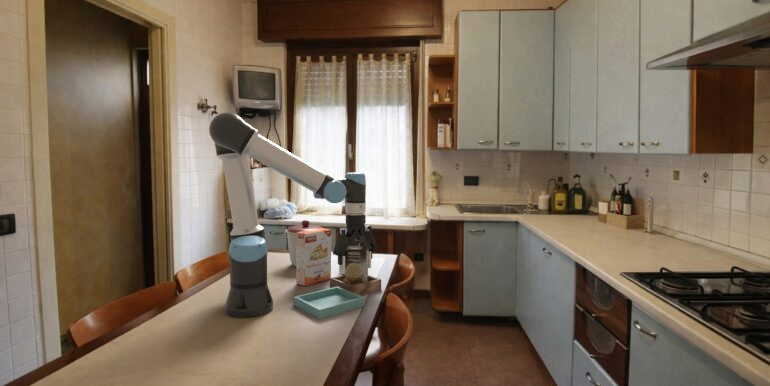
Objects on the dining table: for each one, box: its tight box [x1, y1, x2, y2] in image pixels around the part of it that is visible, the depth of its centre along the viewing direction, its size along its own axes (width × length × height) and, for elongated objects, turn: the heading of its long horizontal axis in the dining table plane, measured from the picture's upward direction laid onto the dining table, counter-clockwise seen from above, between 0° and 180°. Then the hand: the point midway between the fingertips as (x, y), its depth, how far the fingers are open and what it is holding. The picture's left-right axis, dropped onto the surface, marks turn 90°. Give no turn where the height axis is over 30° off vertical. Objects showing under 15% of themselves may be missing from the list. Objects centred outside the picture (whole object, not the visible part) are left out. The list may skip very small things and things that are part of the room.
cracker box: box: [295, 227, 332, 287], centre depth 172 cm, size 14×6×21 cm, turn 141°
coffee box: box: [342, 245, 369, 285], centre depth 163 cm, size 9×6×16 cm
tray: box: [293, 286, 366, 320], centre depth 145 cm, size 18×16×3 cm
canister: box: [285, 219, 323, 267], centre depth 198 cm, size 18×18×21 cm
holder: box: [329, 274, 382, 296], centre depth 164 cm, size 14×14×4 cm
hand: (355, 270), depth 163 cm, fingers open, 12 cm apart
